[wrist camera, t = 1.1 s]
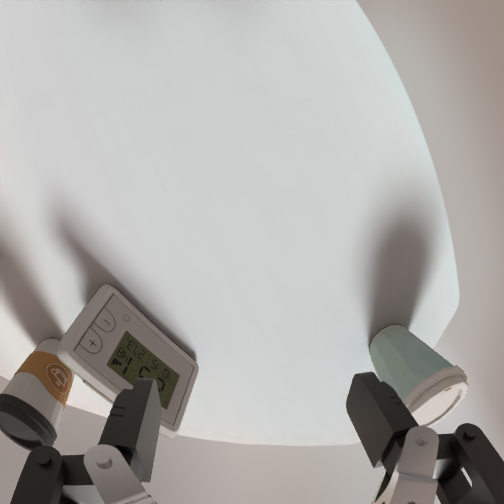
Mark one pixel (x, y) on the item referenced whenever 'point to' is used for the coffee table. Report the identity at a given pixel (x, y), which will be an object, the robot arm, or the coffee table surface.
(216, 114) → the coffee table surface
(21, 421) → the coffee cup
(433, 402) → the disposable coffee cup
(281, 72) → the coffee table surface
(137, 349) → the digital clock
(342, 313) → the coffee table surface
